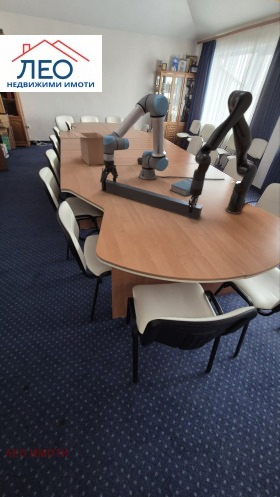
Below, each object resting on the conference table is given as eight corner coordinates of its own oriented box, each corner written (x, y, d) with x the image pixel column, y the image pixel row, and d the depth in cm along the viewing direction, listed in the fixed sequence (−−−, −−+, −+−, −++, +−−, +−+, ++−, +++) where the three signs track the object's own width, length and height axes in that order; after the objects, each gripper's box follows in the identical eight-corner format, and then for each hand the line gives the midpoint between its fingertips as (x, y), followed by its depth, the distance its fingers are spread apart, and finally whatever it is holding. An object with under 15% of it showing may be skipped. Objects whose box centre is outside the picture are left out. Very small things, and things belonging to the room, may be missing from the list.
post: (101, 190, 174) (101, 180, 170) (105, 188, 178) (105, 178, 173) (197, 219, 145) (200, 208, 140) (200, 216, 148) (202, 205, 144)
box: (116, 165, 229) (116, 136, 213) (83, 168, 214) (80, 137, 198) (102, 154, 259) (101, 128, 243) (71, 156, 244) (68, 129, 228)
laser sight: (156, 166, 234) (157, 157, 228) (136, 164, 237) (136, 154, 231) (158, 164, 241) (159, 154, 236) (138, 162, 244) (138, 152, 238)
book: (186, 184, 196) (187, 178, 193) (201, 190, 188) (203, 184, 185) (170, 190, 183) (171, 184, 180) (185, 196, 174) (187, 190, 171)
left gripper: (102, 164, 150) (103, 194, 162) (122, 157, 167) (122, 185, 180) (93, 162, 152) (95, 191, 165) (114, 155, 170) (114, 182, 183)
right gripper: (199, 191, 130) (193, 217, 140) (206, 184, 140) (200, 208, 151) (187, 188, 133) (182, 213, 143) (194, 182, 143) (189, 206, 153)
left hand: (109, 188), depth 172 cm, fingers open, 12 cm apart
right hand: (191, 211), depth 147 cm, fingers closed on post, 5 cm apart
